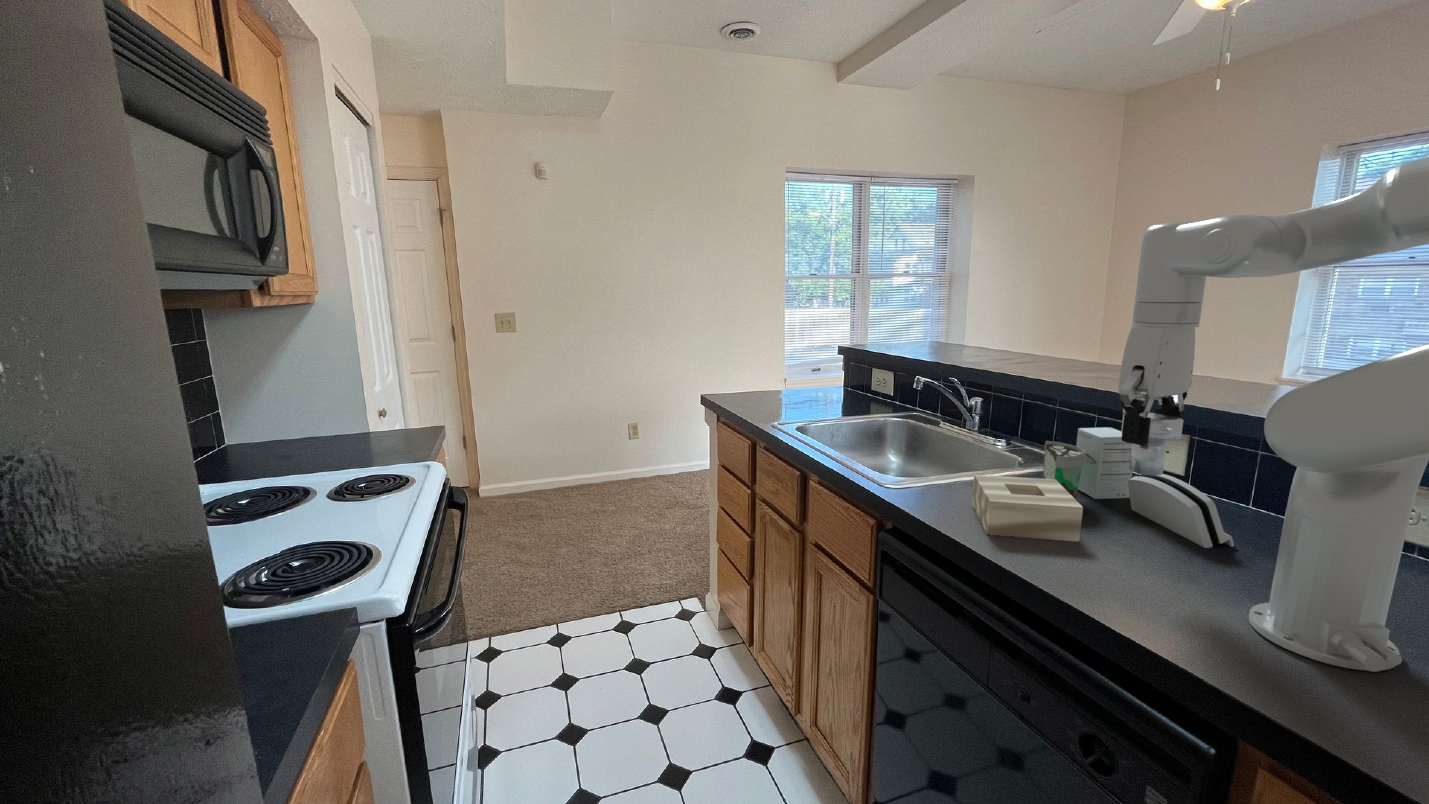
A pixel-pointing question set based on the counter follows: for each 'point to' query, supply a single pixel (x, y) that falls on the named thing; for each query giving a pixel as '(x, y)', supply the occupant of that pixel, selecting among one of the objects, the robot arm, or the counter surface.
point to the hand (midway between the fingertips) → (1149, 438)
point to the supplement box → (1104, 463)
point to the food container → (1064, 464)
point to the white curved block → (1178, 508)
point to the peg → (1155, 444)
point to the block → (1026, 508)
